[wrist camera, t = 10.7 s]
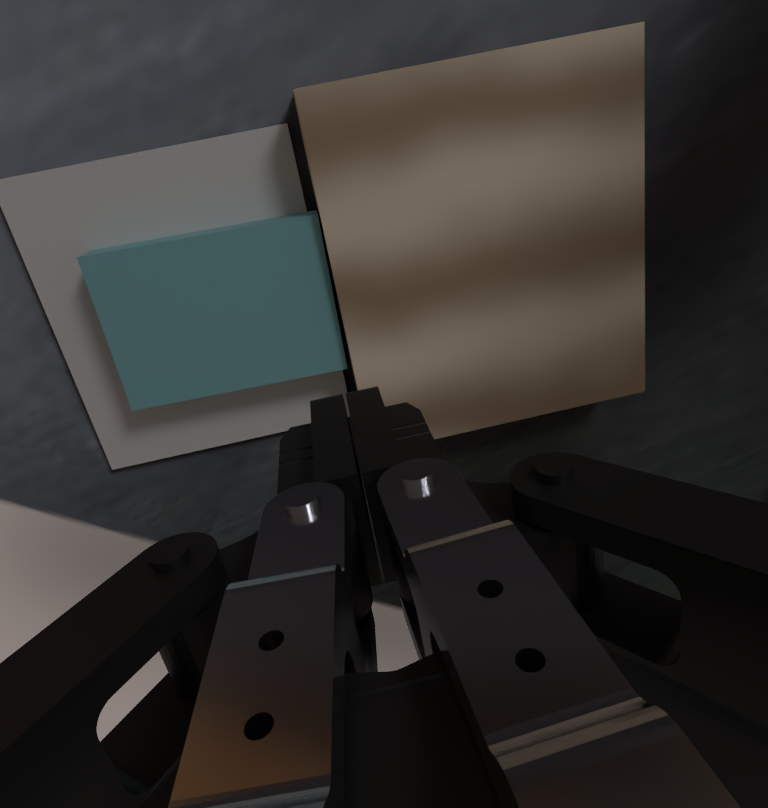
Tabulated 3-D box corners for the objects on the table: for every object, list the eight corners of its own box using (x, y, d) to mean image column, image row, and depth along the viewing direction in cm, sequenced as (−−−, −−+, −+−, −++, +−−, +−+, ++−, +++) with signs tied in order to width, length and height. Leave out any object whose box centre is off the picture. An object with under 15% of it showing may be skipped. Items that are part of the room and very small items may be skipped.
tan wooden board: (293, 95, 26) (292, 89, 23) (607, 34, 26) (644, 21, 24) (365, 427, 32) (371, 453, 29) (615, 371, 33) (645, 391, 30)
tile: (91, 250, 26) (76, 257, 25) (315, 210, 27) (317, 214, 25) (142, 394, 29) (132, 411, 27) (344, 355, 30) (347, 368, 28)
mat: (-6, 180, 25) (-11, 181, 25) (287, 123, 26) (287, 123, 26) (114, 466, 31) (112, 469, 31) (352, 412, 32) (352, 415, 31)
